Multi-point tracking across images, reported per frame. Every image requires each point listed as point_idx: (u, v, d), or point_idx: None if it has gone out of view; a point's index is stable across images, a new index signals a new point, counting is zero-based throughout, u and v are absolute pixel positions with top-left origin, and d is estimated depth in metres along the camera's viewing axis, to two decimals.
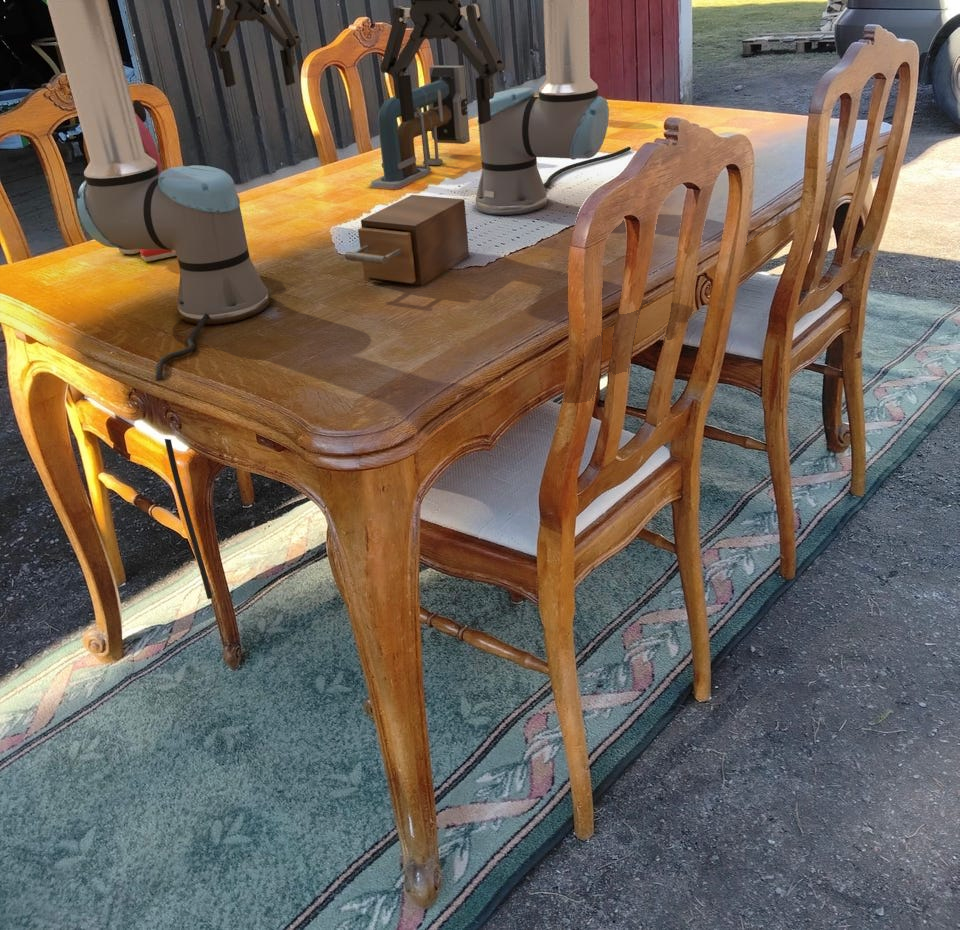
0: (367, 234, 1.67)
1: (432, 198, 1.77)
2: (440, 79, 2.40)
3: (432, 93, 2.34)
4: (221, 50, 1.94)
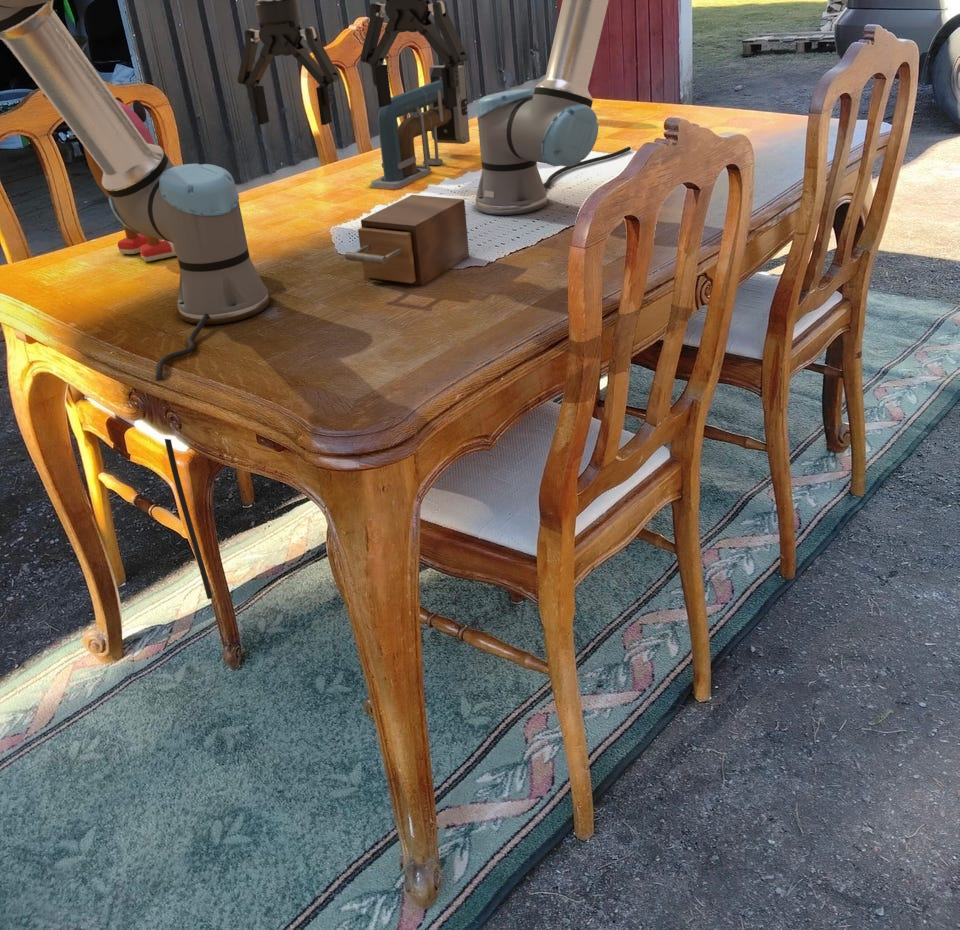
0: (367, 234, 1.67)
1: (432, 198, 1.77)
2: (440, 79, 2.40)
3: (432, 93, 2.34)
4: (254, 85, 1.80)
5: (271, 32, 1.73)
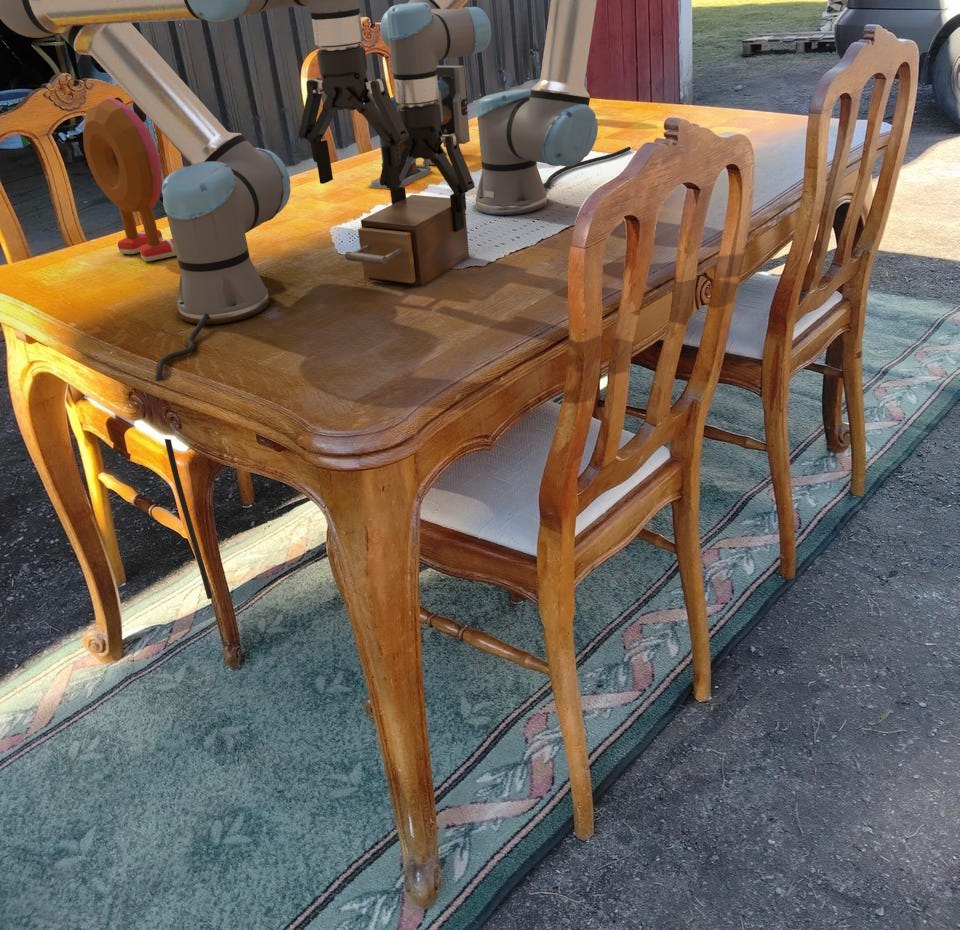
0: (367, 234, 1.67)
1: (432, 198, 1.77)
2: (440, 79, 2.40)
3: None
4: (317, 140, 1.60)
5: (334, 83, 1.52)
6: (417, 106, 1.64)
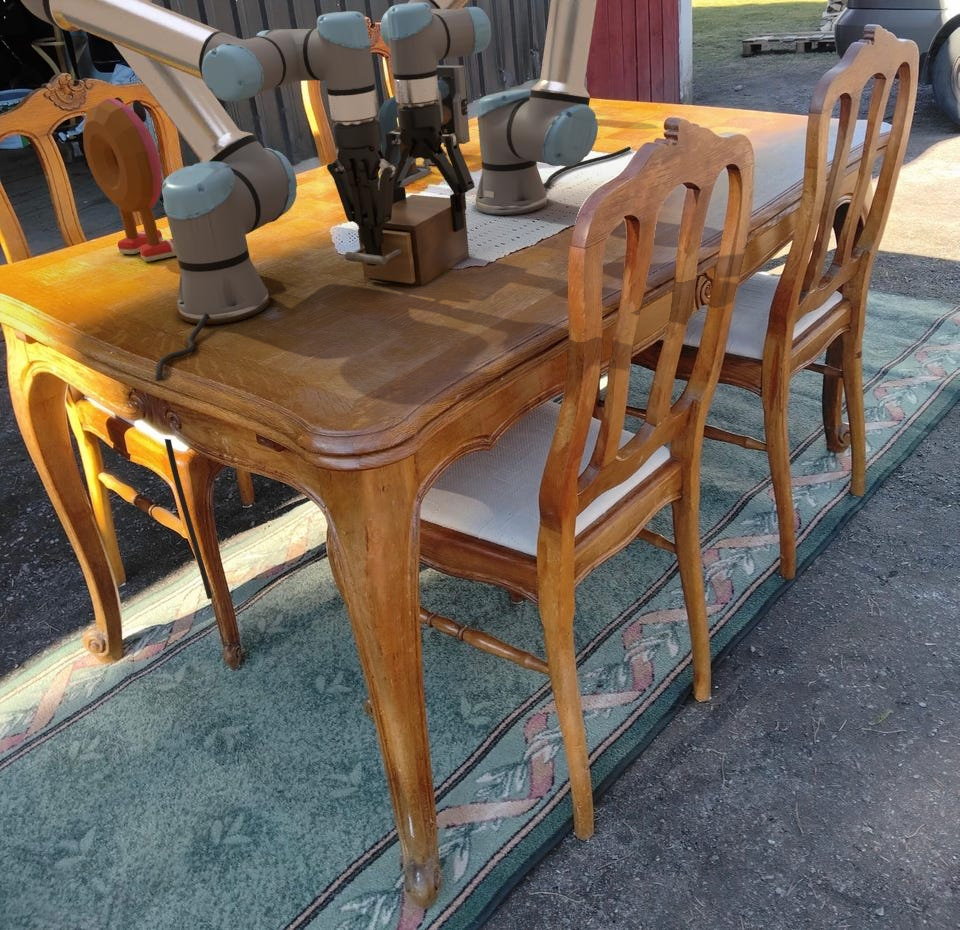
0: None
1: (432, 198, 1.77)
2: (440, 79, 2.40)
3: None
4: (365, 224, 1.62)
5: (349, 155, 1.56)
6: (417, 106, 1.64)
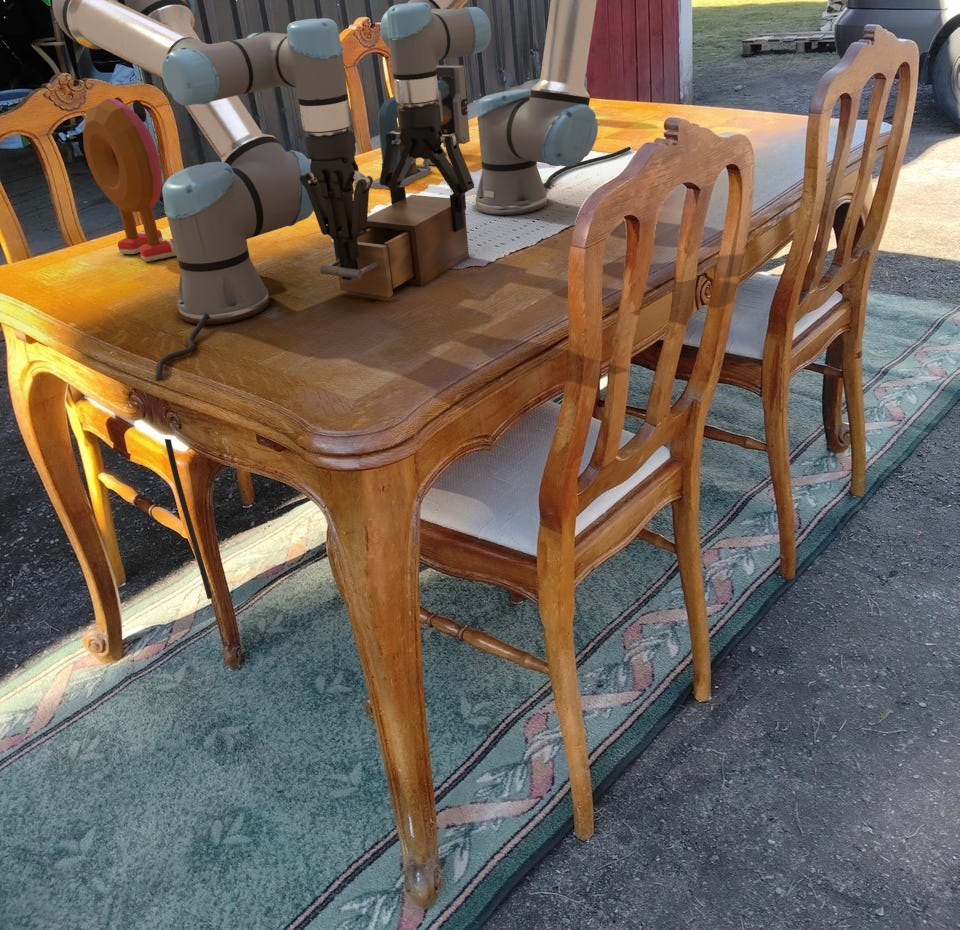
0: None
1: (432, 198, 1.77)
2: (440, 79, 2.40)
3: None
4: (340, 237, 1.57)
5: (323, 166, 1.51)
6: (417, 106, 1.64)
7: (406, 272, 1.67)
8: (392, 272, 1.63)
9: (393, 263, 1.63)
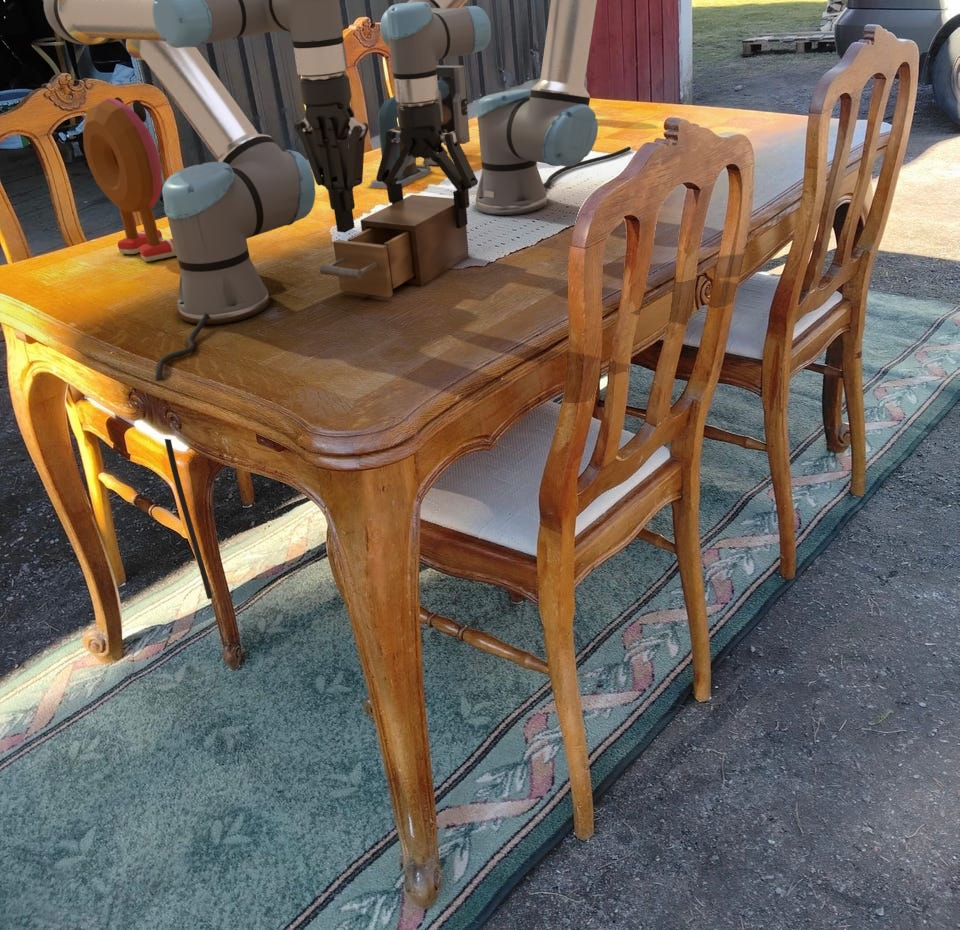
0: (342, 247, 1.62)
1: (432, 198, 1.77)
2: (440, 79, 2.40)
3: None
4: (335, 188, 1.53)
5: (317, 113, 1.47)
6: (417, 105, 1.64)
7: (406, 272, 1.67)
8: (392, 272, 1.63)
9: (393, 263, 1.63)
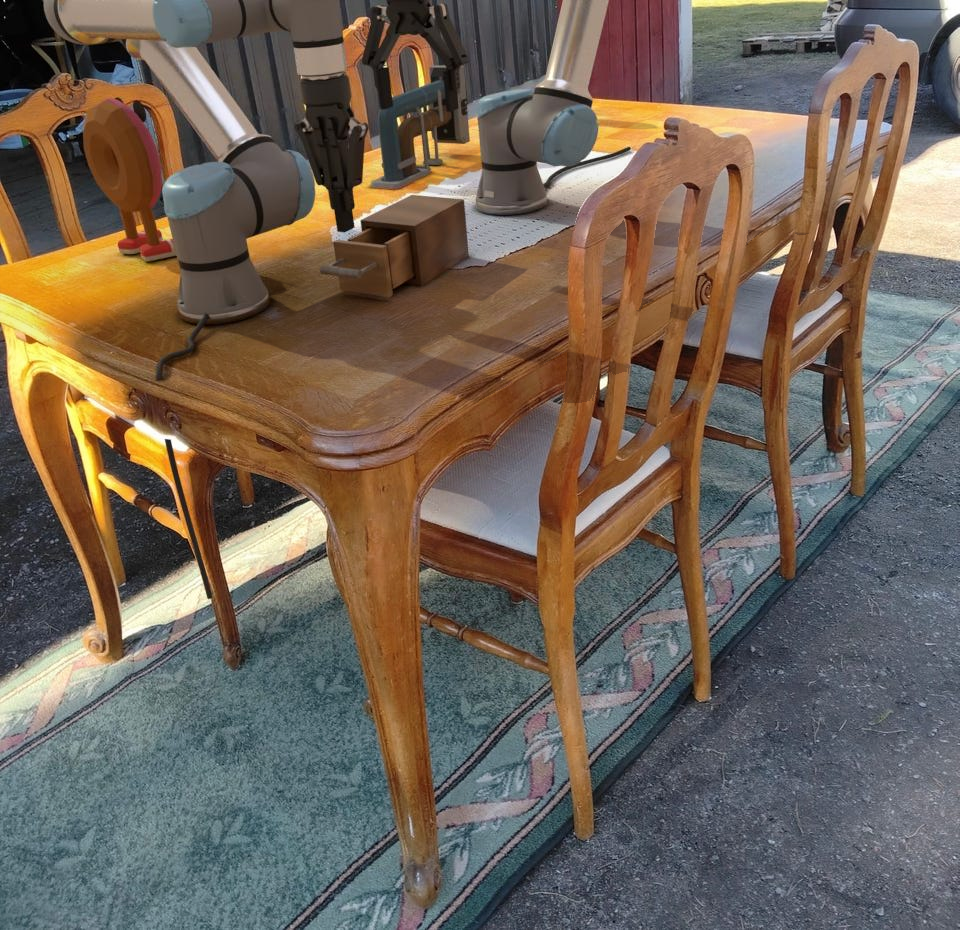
0: (342, 247, 1.62)
1: (432, 198, 1.77)
2: (440, 79, 2.40)
3: (432, 93, 2.34)
4: (335, 188, 1.53)
5: (317, 113, 1.47)
6: None
7: (406, 272, 1.67)
8: (392, 272, 1.63)
9: (393, 263, 1.63)
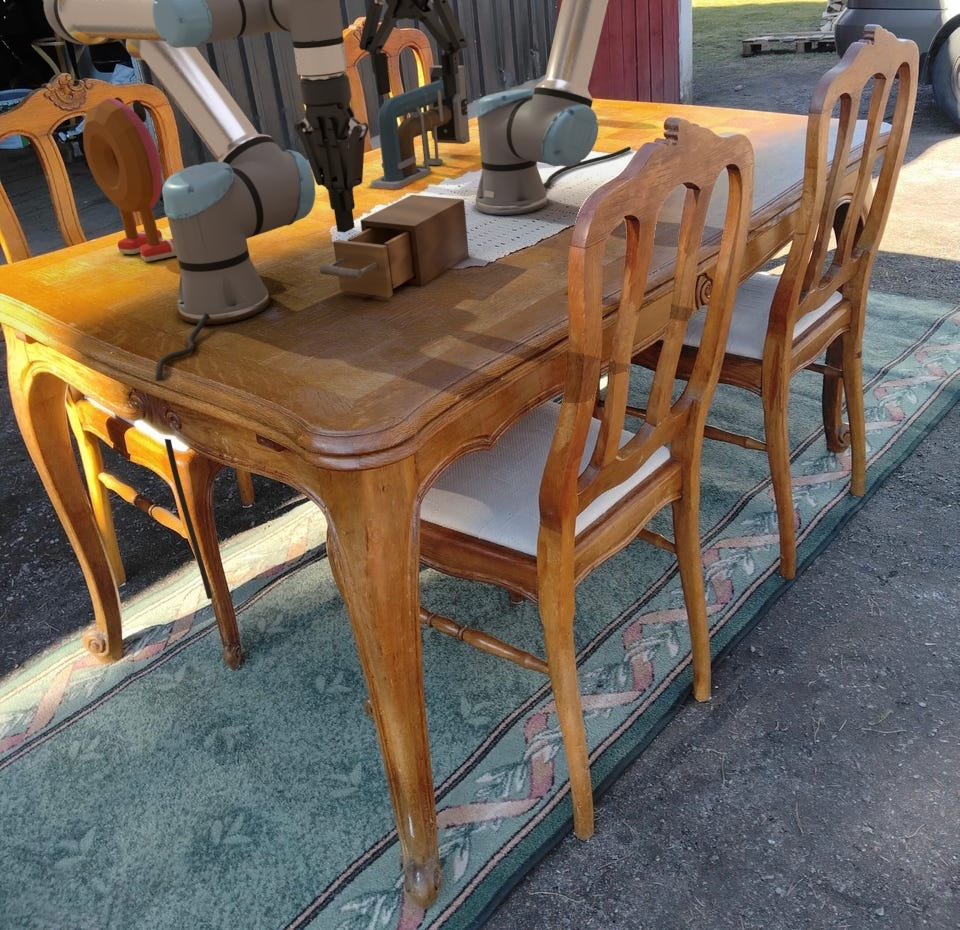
0: (342, 247, 1.62)
1: (432, 198, 1.77)
2: (440, 79, 2.40)
3: (432, 93, 2.34)
4: (335, 188, 1.53)
5: (317, 113, 1.47)
6: None
7: (406, 272, 1.67)
8: (392, 272, 1.63)
9: (393, 263, 1.63)
